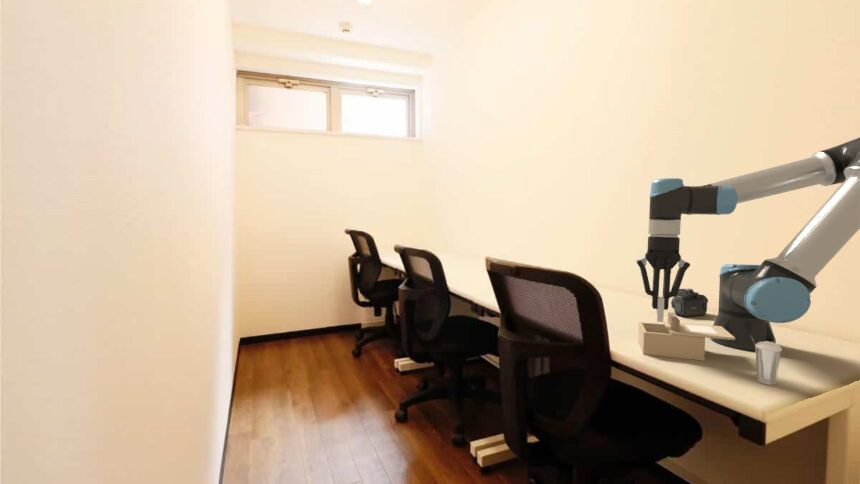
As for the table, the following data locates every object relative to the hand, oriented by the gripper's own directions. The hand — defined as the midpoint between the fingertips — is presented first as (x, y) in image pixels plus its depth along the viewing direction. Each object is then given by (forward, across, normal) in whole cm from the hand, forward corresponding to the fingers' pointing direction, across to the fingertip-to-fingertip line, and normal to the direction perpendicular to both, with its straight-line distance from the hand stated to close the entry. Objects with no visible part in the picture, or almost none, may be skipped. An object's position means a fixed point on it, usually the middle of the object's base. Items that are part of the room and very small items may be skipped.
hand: (659, 320), depth 111 cm
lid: (+2, -9, 0) cm, 9 cm away
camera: (+8, -17, -48) cm, 51 cm away
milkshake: (+8, -19, +16) cm, 26 cm away
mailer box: (+8, -3, 0) cm, 9 cm away
